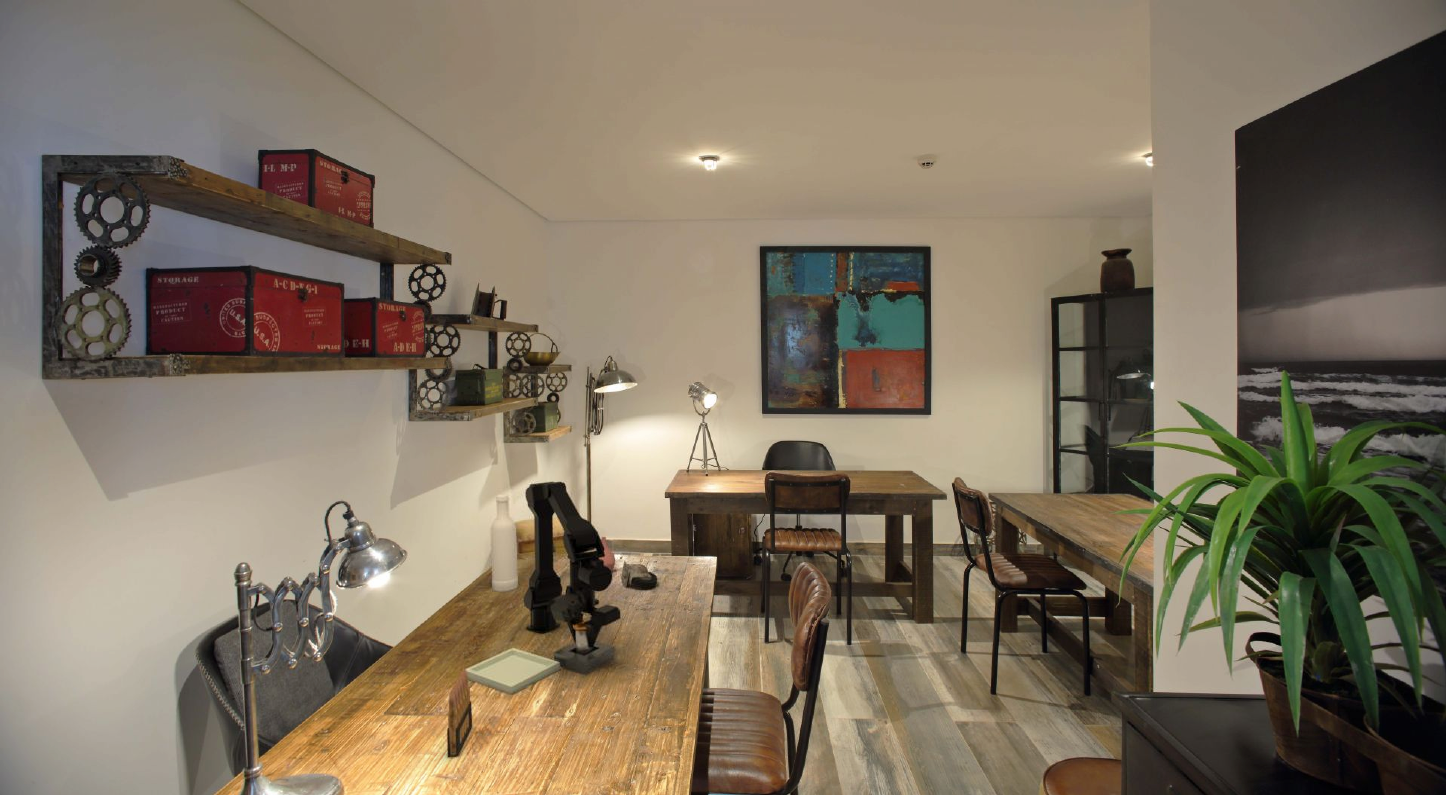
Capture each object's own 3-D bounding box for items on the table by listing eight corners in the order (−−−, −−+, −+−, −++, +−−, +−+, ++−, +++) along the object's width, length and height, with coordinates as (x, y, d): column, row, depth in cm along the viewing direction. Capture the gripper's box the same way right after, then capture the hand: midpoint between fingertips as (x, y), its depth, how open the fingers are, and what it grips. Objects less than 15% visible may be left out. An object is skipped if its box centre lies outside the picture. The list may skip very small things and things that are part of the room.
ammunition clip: (462, 726, 132) (460, 666, 131) (472, 725, 132) (470, 665, 131) (447, 757, 121) (445, 692, 121) (458, 756, 121) (455, 691, 121)
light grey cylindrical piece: (569, 663, 159) (568, 624, 159) (584, 655, 163) (583, 617, 163) (584, 668, 156) (583, 628, 156) (599, 660, 161) (598, 621, 160)
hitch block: (554, 665, 158) (553, 652, 158) (584, 650, 167) (583, 638, 167) (585, 675, 153) (584, 662, 153) (614, 658, 161) (614, 646, 161)
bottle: (487, 591, 213) (483, 497, 212) (502, 583, 221) (499, 492, 219) (508, 593, 211) (505, 498, 210) (523, 585, 218) (520, 493, 217)
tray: (464, 677, 153) (463, 670, 153) (513, 655, 164) (513, 647, 164) (511, 695, 144) (511, 687, 144) (559, 669, 156) (559, 662, 156)
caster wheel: (658, 596, 213) (627, 596, 209) (648, 578, 223) (619, 578, 219) (662, 576, 212) (631, 576, 208) (652, 560, 222) (622, 559, 218)
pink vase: (610, 575, 227) (609, 540, 226) (589, 574, 228) (588, 539, 228) (618, 569, 234) (618, 535, 234) (598, 568, 236) (597, 534, 235)
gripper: (528, 583, 157) (530, 649, 158) (587, 597, 147) (589, 667, 148) (563, 571, 167) (565, 633, 167) (621, 582, 157) (622, 648, 157)
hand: (584, 645), depth 160 cm, fingers closed on light grey cylindrical piece, 4 cm apart
